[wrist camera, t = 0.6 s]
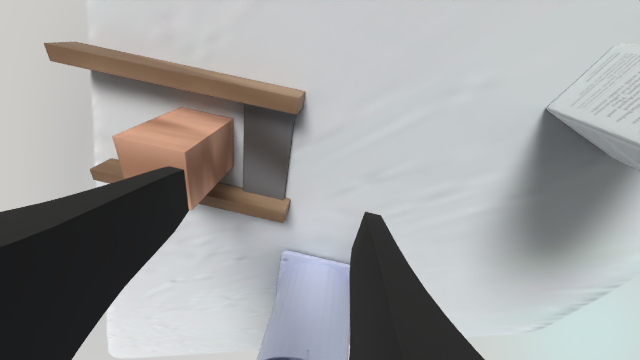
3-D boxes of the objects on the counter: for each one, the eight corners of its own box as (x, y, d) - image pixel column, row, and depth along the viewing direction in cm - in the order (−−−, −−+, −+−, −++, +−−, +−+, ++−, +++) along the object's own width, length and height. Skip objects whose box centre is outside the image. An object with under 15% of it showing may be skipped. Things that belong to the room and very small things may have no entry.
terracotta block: (233, 165, 20) (191, 210, 15) (186, 155, 20) (129, 196, 15) (233, 118, 18) (184, 152, 13) (180, 107, 18) (112, 136, 13)
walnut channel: (288, 208, 22) (283, 222, 20) (113, 168, 22) (93, 179, 20) (305, 91, 17) (299, 98, 15) (75, 41, 17) (43, 43, 15)
